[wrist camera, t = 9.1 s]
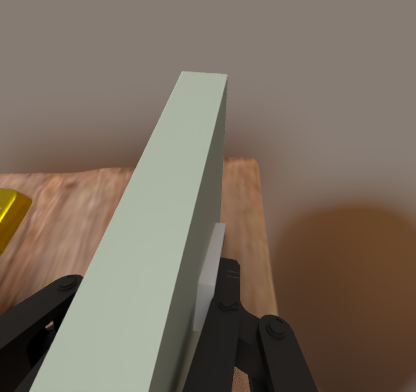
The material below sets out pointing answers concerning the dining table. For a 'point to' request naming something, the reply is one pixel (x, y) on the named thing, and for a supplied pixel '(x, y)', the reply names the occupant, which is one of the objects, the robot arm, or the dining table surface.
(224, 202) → the dining table surface
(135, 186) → the sage hardboard sheet
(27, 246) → the dining table surface
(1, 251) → the element tile
